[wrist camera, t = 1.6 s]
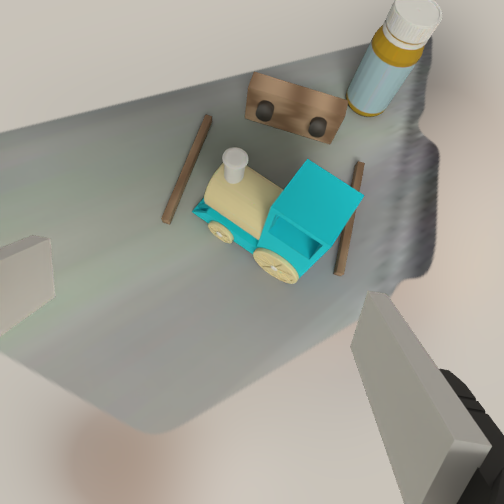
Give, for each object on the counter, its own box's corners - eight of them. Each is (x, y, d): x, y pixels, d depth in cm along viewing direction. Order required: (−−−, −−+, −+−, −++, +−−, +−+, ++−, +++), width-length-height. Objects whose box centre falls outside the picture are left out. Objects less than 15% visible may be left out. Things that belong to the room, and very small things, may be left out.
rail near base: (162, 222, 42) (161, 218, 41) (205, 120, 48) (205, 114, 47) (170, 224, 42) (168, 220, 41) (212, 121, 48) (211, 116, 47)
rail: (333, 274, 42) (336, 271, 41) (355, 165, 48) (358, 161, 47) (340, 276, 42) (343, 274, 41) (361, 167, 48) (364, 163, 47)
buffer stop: (241, 126, 49) (244, 95, 43) (249, 103, 50) (254, 71, 44) (328, 152, 49) (342, 125, 43) (333, 129, 50) (348, 100, 45)
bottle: (381, 124, 52) (443, 36, 37) (340, 111, 52) (387, 18, 37) (387, 93, 54) (447, -1, 40) (348, 81, 54) (395, -18, 40)
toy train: (223, 179, 45) (225, 98, 31) (319, 243, 44) (368, 189, 30) (188, 218, 43) (174, 150, 29) (289, 289, 41) (326, 253, 27)
